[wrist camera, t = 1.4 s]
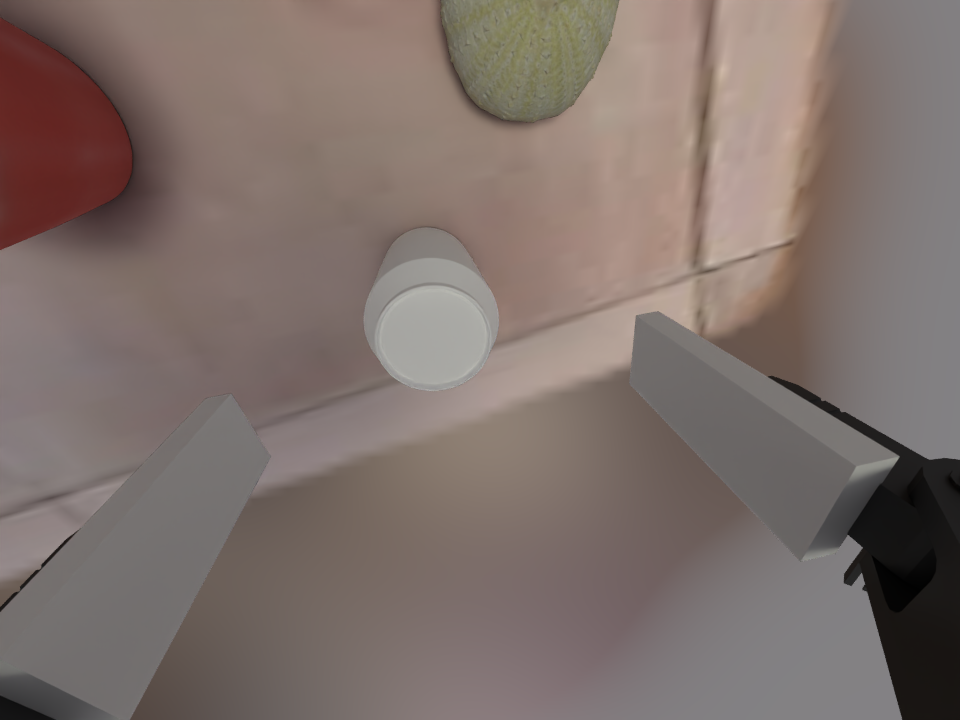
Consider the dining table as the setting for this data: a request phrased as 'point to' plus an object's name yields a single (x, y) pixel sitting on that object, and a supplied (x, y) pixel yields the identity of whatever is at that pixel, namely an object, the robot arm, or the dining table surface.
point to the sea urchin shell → (526, 52)
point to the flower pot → (53, 140)
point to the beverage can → (430, 312)
